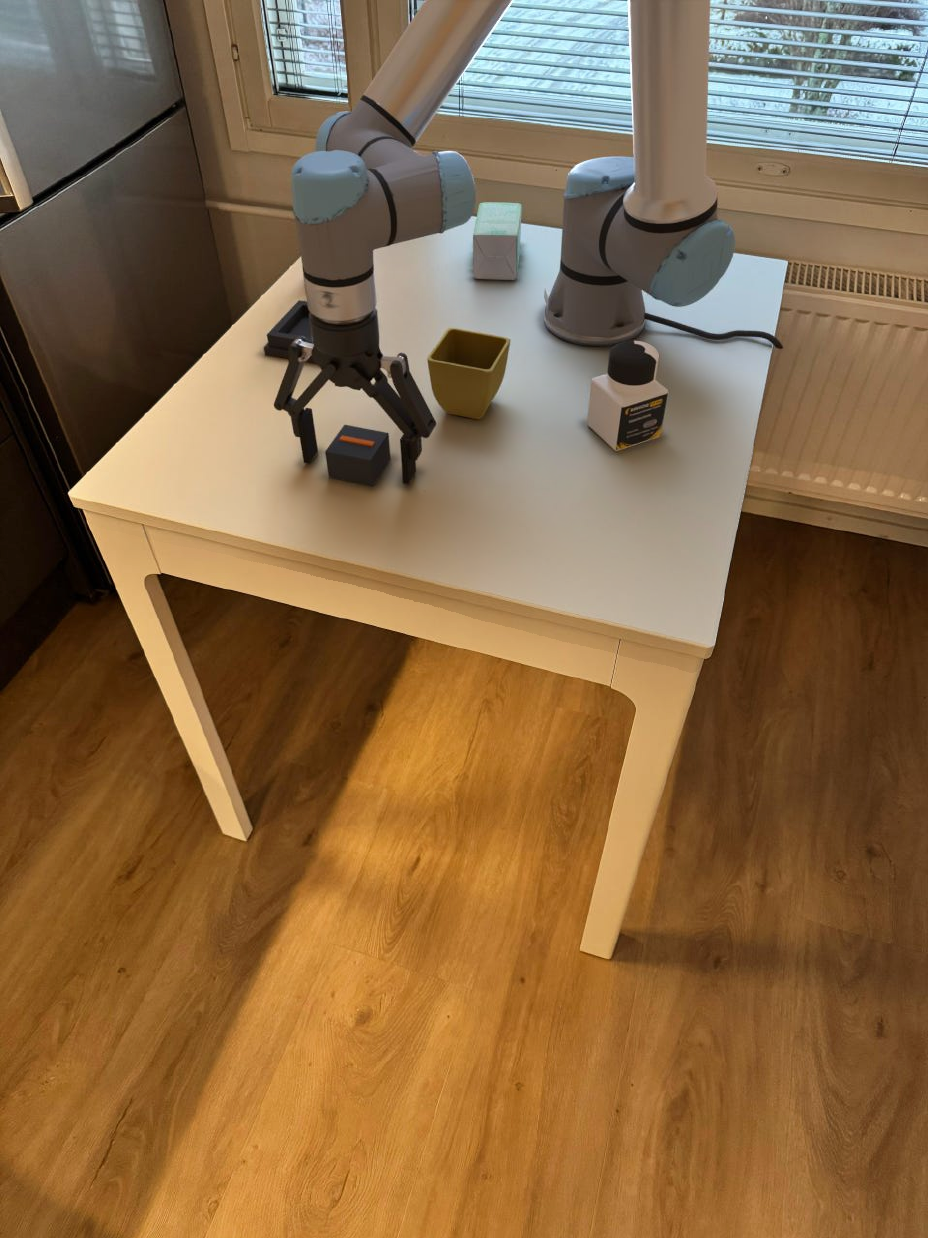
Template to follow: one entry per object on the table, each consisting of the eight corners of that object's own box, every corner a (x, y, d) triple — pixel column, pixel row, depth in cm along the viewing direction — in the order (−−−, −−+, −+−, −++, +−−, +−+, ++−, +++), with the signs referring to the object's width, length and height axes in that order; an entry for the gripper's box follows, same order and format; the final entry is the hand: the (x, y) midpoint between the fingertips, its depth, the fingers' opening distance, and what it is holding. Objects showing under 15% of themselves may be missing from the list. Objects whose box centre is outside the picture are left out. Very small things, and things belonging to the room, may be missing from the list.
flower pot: (509, 396, 126) (511, 337, 120) (490, 431, 120) (491, 371, 114) (449, 385, 128) (448, 326, 122) (427, 419, 122) (425, 359, 116)
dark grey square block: (390, 458, 116) (388, 430, 113) (373, 486, 113) (370, 458, 109) (347, 450, 118) (344, 422, 115) (328, 477, 114) (324, 449, 111)
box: (520, 243, 159) (522, 200, 153) (517, 280, 149) (518, 235, 144) (478, 243, 159) (478, 199, 154) (472, 279, 150) (472, 234, 144)
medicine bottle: (615, 452, 117) (627, 370, 108) (585, 424, 121) (594, 342, 113) (661, 437, 119) (676, 355, 110) (630, 410, 124) (642, 328, 115)
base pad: (371, 327, 139) (369, 309, 137) (339, 367, 131) (337, 348, 129) (299, 315, 142) (297, 297, 140) (264, 354, 134) (261, 335, 132)
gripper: (224, 308, 100) (257, 466, 115) (438, 343, 94) (442, 504, 110) (256, 277, 105) (283, 433, 120) (461, 309, 99) (462, 468, 115)
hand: (359, 467), depth 115 cm, fingers open, 13 cm apart
